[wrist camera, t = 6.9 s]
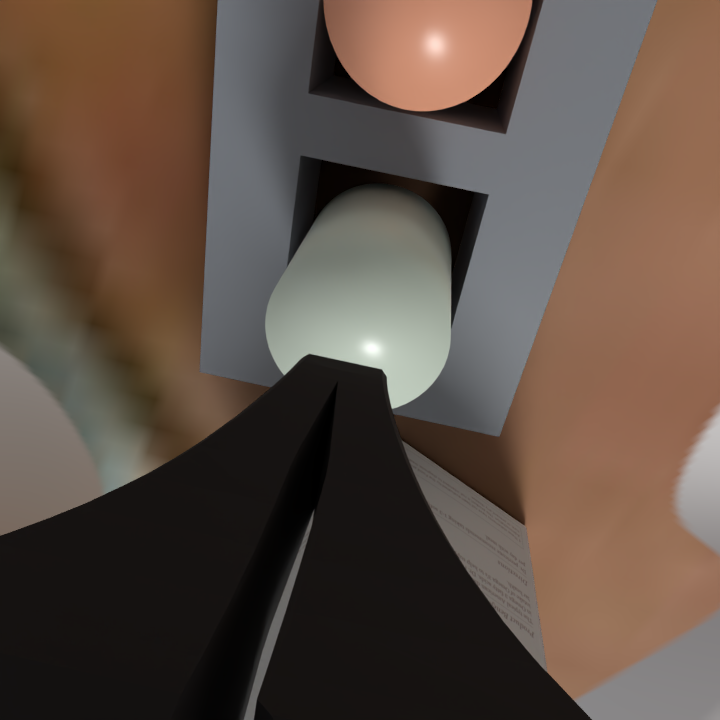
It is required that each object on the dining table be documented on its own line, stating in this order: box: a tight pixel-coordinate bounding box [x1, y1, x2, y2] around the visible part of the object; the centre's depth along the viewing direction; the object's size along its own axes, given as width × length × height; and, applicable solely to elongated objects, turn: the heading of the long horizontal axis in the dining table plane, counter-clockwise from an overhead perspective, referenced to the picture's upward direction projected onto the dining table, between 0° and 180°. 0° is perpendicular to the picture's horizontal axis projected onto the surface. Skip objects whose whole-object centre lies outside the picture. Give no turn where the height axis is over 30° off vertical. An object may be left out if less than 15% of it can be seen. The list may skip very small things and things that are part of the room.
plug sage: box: [265, 183, 451, 409], centre depth 15 cm, size 4×4×5 cm
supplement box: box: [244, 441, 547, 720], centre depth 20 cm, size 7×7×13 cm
